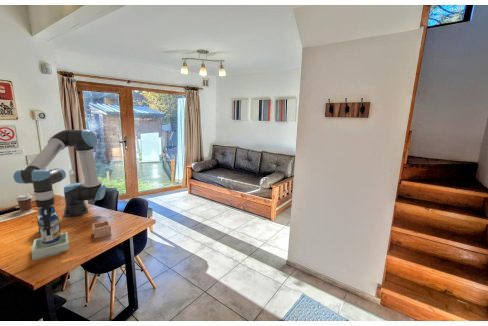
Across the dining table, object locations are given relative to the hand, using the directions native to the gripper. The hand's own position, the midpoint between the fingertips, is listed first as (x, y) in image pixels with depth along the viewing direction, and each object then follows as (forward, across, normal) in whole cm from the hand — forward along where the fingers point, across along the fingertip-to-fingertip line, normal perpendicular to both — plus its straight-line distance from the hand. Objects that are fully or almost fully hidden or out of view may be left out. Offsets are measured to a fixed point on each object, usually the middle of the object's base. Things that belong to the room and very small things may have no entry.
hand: (50, 235), depth 128 cm
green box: (+8, 0, 0) cm, 8 cm away
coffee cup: (+8, -81, -18) cm, 84 cm away
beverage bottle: (+5, -3, 0) cm, 6 cm away
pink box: (+8, -3, +24) cm, 26 cm away
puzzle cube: (+9, -28, -2) cm, 29 cm away
